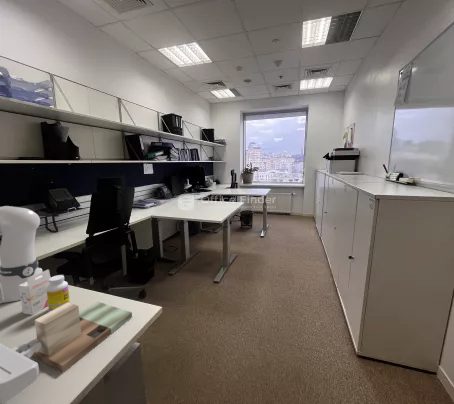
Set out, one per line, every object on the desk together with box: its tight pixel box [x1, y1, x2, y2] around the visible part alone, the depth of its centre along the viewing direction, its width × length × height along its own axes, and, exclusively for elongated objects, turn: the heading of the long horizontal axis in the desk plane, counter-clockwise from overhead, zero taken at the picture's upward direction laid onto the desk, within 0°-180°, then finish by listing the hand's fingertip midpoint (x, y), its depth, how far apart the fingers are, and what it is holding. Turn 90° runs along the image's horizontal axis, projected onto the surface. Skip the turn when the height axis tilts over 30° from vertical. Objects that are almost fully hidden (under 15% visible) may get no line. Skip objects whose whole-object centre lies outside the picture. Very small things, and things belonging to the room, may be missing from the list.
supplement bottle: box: [46, 274, 71, 312], centre depth 84 cm, size 7×7×13 cm
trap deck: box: [31, 301, 133, 373], centre depth 72 cm, size 18×24×2 cm
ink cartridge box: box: [19, 269, 51, 316], centre depth 84 cm, size 9×5×15 cm, turn 168°
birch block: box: [34, 302, 81, 357], centre depth 65 cm, size 5×9×10 cm, turn 158°
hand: (38, 343), depth 59 cm, fingers closed
